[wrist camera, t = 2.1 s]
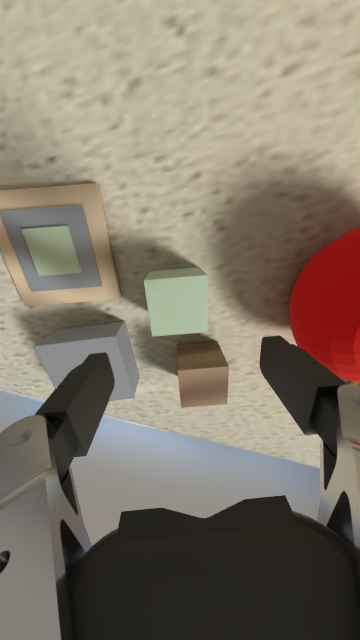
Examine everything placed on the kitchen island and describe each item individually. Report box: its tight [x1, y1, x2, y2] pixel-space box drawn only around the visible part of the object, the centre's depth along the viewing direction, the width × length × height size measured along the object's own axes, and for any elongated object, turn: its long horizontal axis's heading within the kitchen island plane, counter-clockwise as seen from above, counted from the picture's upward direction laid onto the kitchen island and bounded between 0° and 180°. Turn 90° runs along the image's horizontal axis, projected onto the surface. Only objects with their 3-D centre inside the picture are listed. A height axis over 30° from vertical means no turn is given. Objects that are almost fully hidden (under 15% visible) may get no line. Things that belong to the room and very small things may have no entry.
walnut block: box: [177, 341, 229, 408], centre depth 21 cm, size 5×5×5 cm
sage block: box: [144, 267, 208, 337], centre depth 17 cm, size 5×5×5 cm
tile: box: [0, 183, 121, 306], centre depth 17 cm, size 10×10×1 cm
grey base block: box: [33, 321, 139, 401], centre depth 21 cm, size 8×8×4 cm
